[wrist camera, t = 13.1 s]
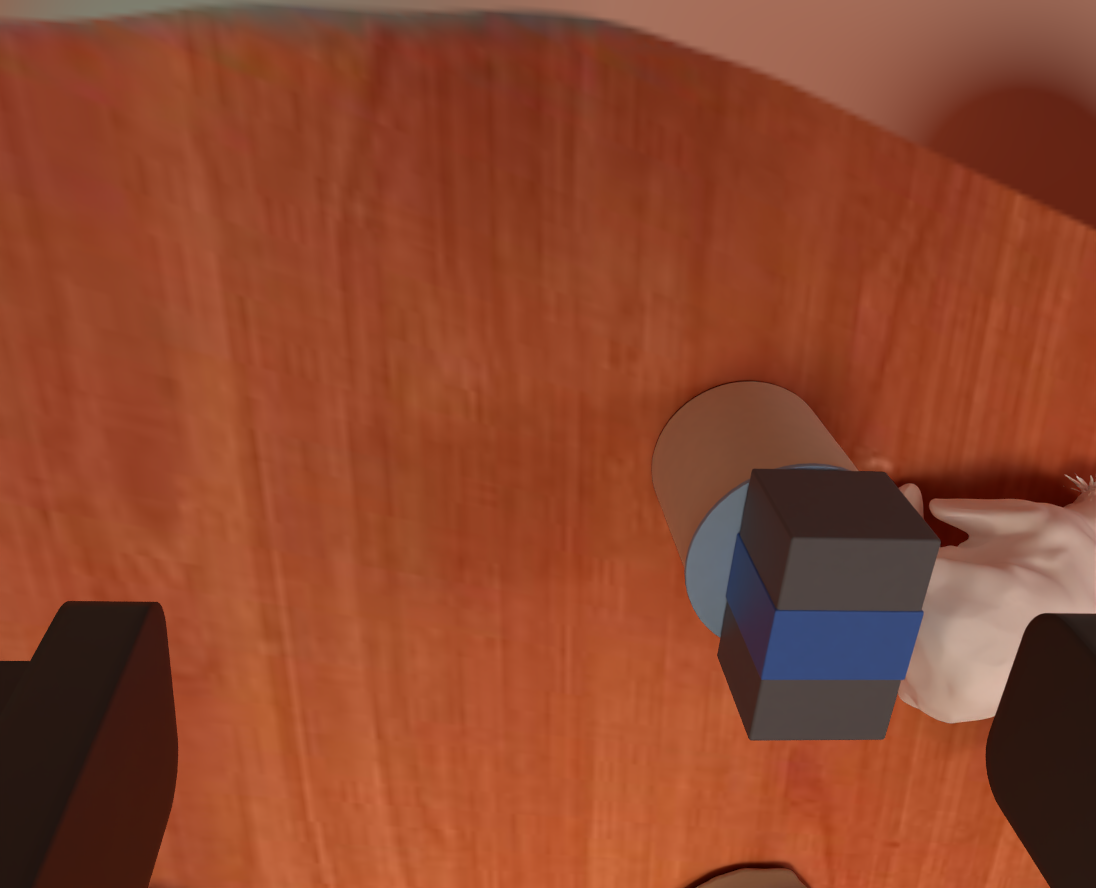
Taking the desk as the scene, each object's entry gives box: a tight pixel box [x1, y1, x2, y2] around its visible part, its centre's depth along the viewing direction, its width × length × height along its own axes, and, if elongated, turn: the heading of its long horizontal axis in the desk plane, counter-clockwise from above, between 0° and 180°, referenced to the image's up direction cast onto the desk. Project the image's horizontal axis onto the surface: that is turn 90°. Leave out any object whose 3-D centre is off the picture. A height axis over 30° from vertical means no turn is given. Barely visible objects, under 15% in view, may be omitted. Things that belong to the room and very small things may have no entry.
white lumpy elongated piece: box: [898, 473, 1096, 723], centre depth 38 cm, size 6×8×12 cm
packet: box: [717, 468, 941, 740], centre depth 31 cm, size 7×4×4 cm, turn 176°
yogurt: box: [652, 381, 858, 638], centre depth 36 cm, size 7×7×7 cm
